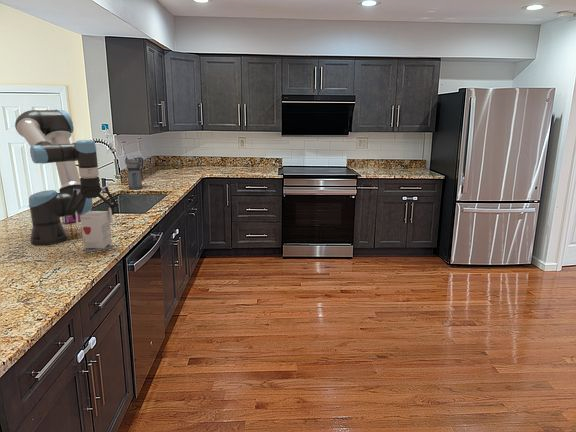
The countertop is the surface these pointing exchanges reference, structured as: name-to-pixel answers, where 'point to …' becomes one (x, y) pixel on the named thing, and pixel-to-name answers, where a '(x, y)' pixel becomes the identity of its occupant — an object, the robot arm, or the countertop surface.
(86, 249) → the slate coaster
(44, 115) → the robot arm
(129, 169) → the gray tapered canister
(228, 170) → the countertop surface
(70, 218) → the candy bar box
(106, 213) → the supplement box
